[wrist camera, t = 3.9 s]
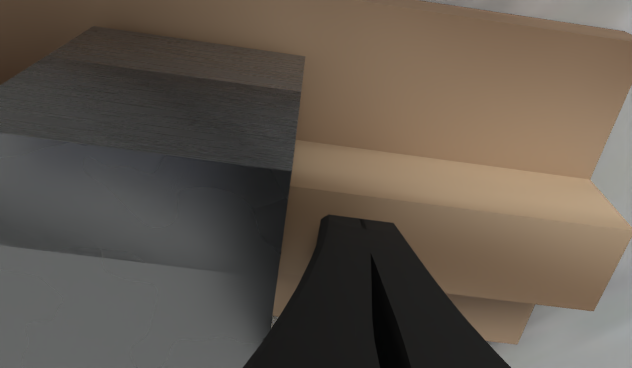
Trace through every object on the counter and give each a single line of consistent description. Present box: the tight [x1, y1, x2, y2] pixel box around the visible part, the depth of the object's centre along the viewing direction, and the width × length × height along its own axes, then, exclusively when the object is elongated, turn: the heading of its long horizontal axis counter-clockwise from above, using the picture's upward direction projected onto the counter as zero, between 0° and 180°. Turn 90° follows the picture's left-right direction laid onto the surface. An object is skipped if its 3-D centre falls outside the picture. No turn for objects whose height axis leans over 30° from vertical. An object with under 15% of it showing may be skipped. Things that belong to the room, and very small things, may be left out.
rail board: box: [0, 0, 632, 344], centre depth 11 cm, size 8×20×5 cm, turn 82°
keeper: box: [0, 26, 305, 368], centre depth 10 cm, size 6×4×5 cm
